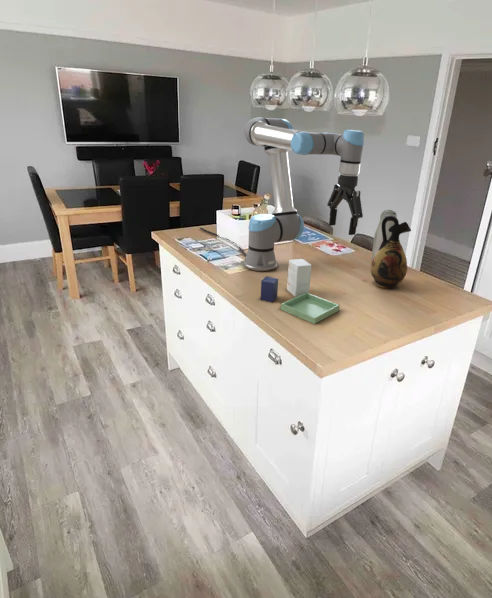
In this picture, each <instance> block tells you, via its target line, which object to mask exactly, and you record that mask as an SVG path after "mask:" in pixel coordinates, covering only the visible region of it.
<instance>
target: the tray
mask: <svg viewBox="0 0 492 598" xmlns="http://www.w3.org/2000/svg"><path fill="white" fill-rule="evenodd" d="M280 310H281V311H283V312H285V313H288V314H290V315H292V316H294V317H297V318H299V319H301V320H304V321H306V322H309V323H311V324H313V325H315V324H317V323H319V322H320V321H322V320H325V319H326V318H328V317H331V315H334V314H335V313H338V312H339V311H340V304H338V303H336V302H333V301H331V300H328V299H325V298H323V297H320V296H317V295H315V294H312V293H310V292H309V293H307V292H306V293H304V294H302V295H300V296H297V297H295V296H294V297H293V298H290V299H288V300H286V301H284V302H282V303H280Z"/></svg>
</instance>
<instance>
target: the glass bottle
mask: <svg viewBox="0 0 492 598" xmlns="http://www.w3.org/2000/svg"><path fill="white" fill-rule="evenodd" d="M387 216H394V217H396V218H397V219H398V215H397V212H396V211H395V210H392V209H385V210H383V211H382V212H381V213H380V217H379V221H378V225H377V227H376V230H375V231H374V236H373V244H372V250H371V261H372V260H373V258H374V256H375V254H376V253H377V251H378V250H379V248H380V245H381V244H382V242H383V236H382V228H381V227H382V221H383V219H384V218H385V217H387ZM393 225H394V222H393V221H387V222H386V235H387V240H388V239H389V238H390V236H391V234H392V233H391V232H389V228H390V227H391V226H393Z"/></svg>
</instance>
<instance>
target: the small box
mask: <svg viewBox="0 0 492 598" xmlns="http://www.w3.org/2000/svg"><path fill="white" fill-rule="evenodd" d="M312 267H313V265H312V264H311V263H310V262H308V261H307V260H305V259H304V258H295V259H289V260H288V270H287V281H286V283H287V284H286V290H287V291H288V292H289V293H290V294H291V295H292V296H293V297H294V298H295V297H297V296H300V295H302V294H304V293H306V292H307V293H310V290H311V289H310V288H311V280H312V279H311V278H312Z"/></svg>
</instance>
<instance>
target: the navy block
mask: <svg viewBox="0 0 492 598" xmlns="http://www.w3.org/2000/svg"><path fill="white" fill-rule="evenodd" d="M278 290H279V278H276V277H271V276H265V277H264V278H262V279H261V280H260V300H261V301H264V302H269V303H273V302H275V300H276V299H278Z"/></svg>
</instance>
